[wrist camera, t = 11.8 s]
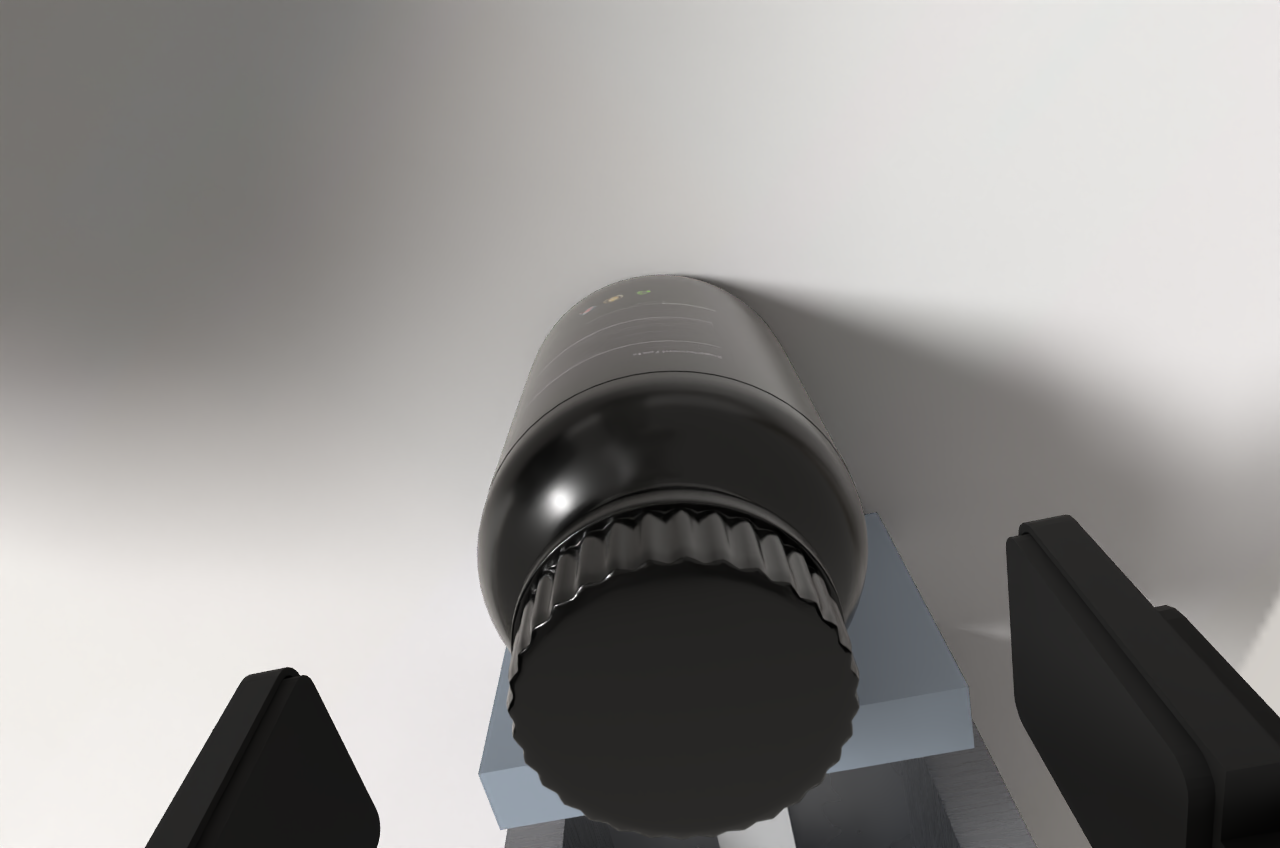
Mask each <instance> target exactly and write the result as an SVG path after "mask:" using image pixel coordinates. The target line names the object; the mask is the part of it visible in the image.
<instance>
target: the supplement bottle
mask: <svg viewBox="0 0 1280 848" xmlns="http://www.w3.org/2000/svg"><path fill="white" fill-rule="evenodd" d="M490 486H491V487H490V488H489V489H490V490H489V491H488V492H489V493H488V496H487V499H486V503H485V506H484V509H483V513H482V518H481V523H480V528H479V534H478V546H477V563H478V573H479V580H480V587H481V591H482V594H483V598H484V602H485V605H486V607H487V610H488V613H489V615H490V618H491V620H492V622H493V624H494V626H495V628H496V630H497V632H498V634H499V636H500V638H501V639H502V641H503V642H504V644H505V645H506V647H507V648H508V650H509V651H510V653H511V661H510V666H509V671H508V679H509V690H508V695H507V701H506V705H507V711H508V713H509V715H510V717H511V719H512V720H513V724H512V736H513V738H514V740H515V741H516V742H517V744H518V745H519V746H520V747H521V748H522V749H523V756H524V761H525V763H526V764H527V765H528V766H529V767H530V768H532V769H533V770H534V771H536V772H537V773H538V776H539V779H540V781H541V784H542V785H543V786H544V787H546V788H548V789H549V790H551V791H553V792H555V793H557V794H558V796H559V798H560V800H561V801H562V802H563V804H564V805H566V806H569V807H572V808H574V809H577V810H580V811H581V812H582V813H583V814H584V815H585V816H586V817H587V818H588V819H589V820H592V821H596V822H602V823H607V824H608V825H610V826H611V827H612V828H614V829H616V830H617V831H621V832H636V833H638V834H641V835H643V836H645V837H648V838H656V837H664V836H666V837H671V838H674V839H678V840H684V839H688V838H692V837H695V836H702V837H716V836H718V835H721V834H723V833H725V832H727V831H742V830H746V829H747V828H749V827H750V826H752V825H753V824H755V823H756V822H760V821H765V820H770V819H774V818H775V817H776V816H777V815H778V814H779V813H780V812H781V811H782V810H783V809H784V808H787V807H790V806H793V805H795V804H798V803H800V802H801V800H802V799H803V798H804V796H805V795H806V793H807V791H809V790H811V789H813V788H815V787H817V786H818V785H820V784H822V782H823V780H824V778H825V776H826V773H827V771H828V770H829V769H830V768H831V767H832V766H834V765H835V764H836V763H838V762H839V761H840V758H841V754H842V747H843V745H844V744H845V743H846V742H847V741H848V740H849V739H850V738H851V737H852V735H853V725H852V720H853V718H854V717H855V715H856V714H857V712H858V710H859V708H860V702H859V697H858V694H857V691H856V690H857V688H858V683H859V669H858V666H857V664H856V661H855V658H854V655H853V653H852V645H851V641H850V638H849V635H848V632H847V629H848V628H849V626H850V624H851V622H852V620H853V617H854V615H855V612H856V610H857V607H858V605H859V602H860V598H861V595H862V591H863V588H864V584H865V578H866V572H867V562H868V538H867V528H866V522H865V516H864V512H863V509H862V505H861V502H860V499H859V496H858V493H857V490H856V488H855V485H854V483H853V481H852V478H851V476H850V474H849V471H848V469H847V467H846V465H845V463H844V461H843V459H842V457H841V456H840V454H839V452H838V450H837V448H836V446H835V444H834V442H833V441H832V439H831V437H830V435H829V433H828V431H827V429H826V428H825V426H824V424H823V422H822V420H821V418H820V416H819V414H818V413H817V411H816V409H815V407H814V405H813V403H812V401H811V400H810V398H809V396H808V394H807V392H806V390H805V388H804V386H803V385H802V383H801V381H800V379H799V377H798V375H797V373H796V372H795V370H794V368H793V366H792V364H791V362H790V360H789V359H788V357H787V355H786V353H785V351H784V350H783V348H782V346H781V345H780V343H779V341H778V340H777V338H776V336H775V335H774V334H773V332H772V331H771V329H770V328H769V327H768V325H767V324H766V323H765V322H764V321H763V320H762V319H761V317H760V316H759V315H758V314H757V313H756V312H755V311H753V310H752V309H751V308H750V307H749V306H748V305H747V304H745V303H744V302H743V301H741V300H740V299H739V298H737V297H736V296H734V295H732V294H731V293H729V292H727V291H726V290H723V289H721V288H719V287H717V286H715V285H712V284H709V283H707V282H704V281H701V280H697V279H693V278H689V277H682V276H675V275H649V276H641V277H635V278H630V279H626V280H622V281H619V282H616V283H614V284H611V285H608V286H606V287H604V288H602V289H599V290H597V291H595V292H594V293H592V294H590V295H589V296H587V297H585V298H584V299H582V300H581V301H580V302H578V303H577V304H576V305H574V306H573V307H572V308H571V309H570V310H569V311H568V312H567V313H566V314H564V315H563V317H562V318H561V319H560V320H559V321H558V322H557V323H556V324H555V326H554V327H553V329H552V330H551V331H550V333H549V334H548V335H547V337H546V339H545V340H544V342H543V344H542V346H541V347H540V349H539V351H538V354H537V356H536V358H535V360H534V363H533V365H532V368H531V370H530V373H529V375H528V378H527V381H526V384H525V387H524V390H523V393H522V396H521V398H520V401H519V404H518V407H517V410H516V413H515V416H514V419H513V422H512V424H511V427H510V430H509V433H508V436H507V439H506V442H505V445H504V447H503V450H502V453H501V456H500V459H499V462H498V465H497V468H496V471H495V473H494V476H493V479H492V482H491V485H490Z"/></svg>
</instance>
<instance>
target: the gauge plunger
mask: <svg viewBox="0 0 1280 848" xmlns="http://www.w3.org/2000/svg"><path fill="white" fill-rule="evenodd" d="M864 516H865V522H866V528H867V538H868V562H867V572H866V578H865V584H864V588H863V591H862V595H861V598H860V602H859V605H858V607H857V610H856V612H855V615H854V617H853V620H852V622H851V624H850V626H849V628H848V629H847V632H848V635H849V638H850V641H851V645H852V653H853V655H854V658H855V661H856V664H857V666H858V669H859V683H858V688H857V690H856V691H857V694H858V697H859V702H860V708H859V710H858V712H857V714H856V715H855V717H854V718H853V720H852V725H853V735H852V737H851V738H850V739H849V740H848V741H847V742H846V743H845V744H844V745H843V747H842V754H841V758H840V761H839V762H838V763H836V764H835V765H834V766H832V767H831V768H830V769H829V770H828V771H827V773H833V772H839V771H844V770H850V769H856V768H862V767H868V766H873V765H879V764H885V763H891V762H897V761H902V760H908V759H914V758H920V757H925V756H931V755H937V754H943V753H949V752H954V751H960V750H966V749H972V748H974V737H973V727H972V717H971V707H970V696H969V686H968V685H967V683H966V681H965V679H964V677H963V675H962V673H961V671H960V669H959V667H958V665H957V664H956V662H955V660H954V658H953V656H952V654H951V652H950V650H949V648H948V646H947V645H946V643H945V641H944V639H943V637H942V635H941V633H940V631H939V629H938V627H937V625H936V624H935V622H934V620H933V618H932V616H931V614H930V612H929V610H928V608H927V606H926V604H925V603H924V601H923V599H922V597H921V595H920V593H919V591H918V589H917V587H916V585H915V584H914V582H913V580H912V578H911V576H910V574H909V572H908V570H907V568H906V566H905V564H904V563H903V561H902V559H901V557H900V555H899V553H898V551H897V549H896V547H895V545H894V544H893V542H892V540H891V538H890V536H889V534H888V532H887V530H886V528H885V526H884V524H883V523H882V521H881V519H880V517H879V515H878V513H877V512H876V513H871V514H866V515H864ZM510 661H511V653H510V651H509V650H508V648H507V647H506V650H505V655H504V659H503V664H502V668H501V673H500V677H499V682H498V687H497V691H496V696H495V700H494V705H493V709H492V714H491V719H490V723H489V728H488V732H487V737H486V741H485V746H484V751H483V755H482V760H481V764H480V769H479V773H478V775H479V777H480V780H481V782H482V785H483V787H484V790H485V792H486V795H487V797H488V800H489V802H490V805H491V807H492V810H493V812H494V815H495V817H496V820H497V823H498V825H499V828H500V830H503V829H509V828H514V827H520V826H526V825H532V824H537V823H543V822H549V821H555V820H561V819H566V818H572V817H578V816H584V814H583V813H582V812H581V811H580V810H577V809H574V808H572V807H569V806H566V805H564V804H563V802H562V801H561V800H560V798H559V796H558V794H557V793H555V792H553V791H551V790H549V789H548V788H546V787H544V786H543V785H542V784H541V781H540V779H539V776H538V773H537V772H536V771H534V770H533V769H532V768H530V767H529V766H528V765H527V764H526V763H525V761H524V756H523V749H522V748H521V747H520V746H519V745H518V744H517V742H516V741H515V740H514V738H513V736H512V724H513V720H512V719H511V717H510V715H509V713H508V711H507V705H506V701H507V695H508V690H509V679H508V671H509V666H510ZM827 773H826V774H827ZM717 838H718V842H719V846H720V848H797V847H796V843H795V838H794V833H793V829H792V824H791V819H790V815H789V810H788V807H787V808H784V809H783V810H782V811H781V812H780V813H779V814H778V815H777V816H776V817H775V818H774V819H770V820H765V821H760V822H756V823H755V824H753V825H752V826H750V827H749V828H747V829H746V830H742V831H727V832H725V833H723V834H721V835H718V836H717Z"/></svg>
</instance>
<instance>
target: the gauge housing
mask: <svg viewBox="0 0 1280 848" xmlns="http://www.w3.org/2000/svg"><path fill="white" fill-rule="evenodd" d="M972 727H973V737H974V748H972V749H966V750H960V751H954V752H949V753H943V754H937V755H931V756H925V757H920V758H914V759H908V760H902V761H897V762H891V763H885V764H879V765H873V766H868V767H862V768H856V769H850V770H844V771H839V772H833V773H827V774H826V776H825V778H824V780H823V782H822V784H820V785H818V786H817V787H815V788H813V789H811V790H809V791H807V793H806V795H805V796H804V798H803V799H802V800H801V802H800V803H798V804H795V805H793V806H790V807H788V810H789V815H790V819H791V824H792V829H793V833H794V838H795V843H796V847H797V848H1037V847H1036V845H1035V843H1034V841H1033V839H1032V837H1031V835H1030V833H1029V831H1028V829H1027V827H1026V825H1025V823H1024V821H1023V819H1022V817H1021V815H1020V813H1019V811H1018V809H1017V807H1016V805H1015V803H1014V801H1013V799H1012V797H1011V795H1010V793H1009V791H1008V789H1007V787H1006V785H1005V783H1004V781H1003V779H1002V777H1001V775H1000V773H999V771H998V769H997V767H996V765H995V763H994V761H993V759H992V757H991V755H990V753H989V752H988V750H987V748H986V746H985V744H984V742H983V740H982V738H981V736H980V734H979V732H978V730H977V728H976V726H975V724H974V722H973V720H972ZM505 848H720V846H719V842H718V838H717V836H716V837H702V836H695V837H692V838H688V839H684V840H678V839H674V838H671V837H666V836H664V837H656V838H648V837H645V836H643V835H641V834H638V833H636V832H621V831H617V830H616V829H614V828H612V827H611V826H610V825H608V824H607V823H602V822H596V821H592V820H589V819H588V818H587V817H586V816H585V815H584V816H578V817H572V818H566V819H561V820H555V821H549V822H543V823H537V824H532V825H526V826H520V827H514V828H509V829H508V830H507V836H506V842H505Z"/></svg>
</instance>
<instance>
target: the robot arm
mask: <svg viewBox="0 0 1280 848" xmlns="http://www.w3.org/2000/svg"><path fill="white" fill-rule="evenodd" d="M1006 555H1007V573H1008V591H1009V609H1010V627H1011V645H1012V663H1013V681H1014V696H1015V703H1016V707H1017V710H1018V714H1019V716H1020V719H1021V722H1022V724H1023V726H1024V728H1025V729H1026V731H1027V733H1028V735H1029V737H1030V738H1031V740H1032V742H1033V744H1034V745H1035V747H1036V749H1037V751H1038V752H1039V754H1040V756H1041V758H1042V760H1043V761H1044V763H1045V765H1046V767H1047V768H1048V770H1049V772H1050V774H1051V775H1052V777H1053V779H1054V781H1055V782H1056V784H1057V786H1058V788H1059V790H1060V791H1061V793H1062V795H1063V797H1064V798H1065V800H1066V802H1067V804H1068V805H1069V807H1070V809H1071V811H1072V813H1073V814H1074V816H1075V818H1076V820H1077V821H1078V823H1079V825H1080V827H1081V828H1082V830H1083V832H1084V834H1085V836H1086V837H1087V839H1088V841H1089V843H1090V844H1091V846H1092V848H1280V717H1279V716H1278V715H1277V714H1276V713H1275V712H1274V711H1273V710H1272V709H1271V708H1270V707H1269V706H1268V705H1267V704H1266V703H1265V702H1264V700H1263V699H1262V698H1261V697H1260V696H1259V695H1258V694H1257V693H1256V692H1255V691H1254V690H1253V689H1252V688H1251V687H1250V685H1249V684H1248V683H1247V682H1246V681H1245V680H1244V679H1243V678H1242V677H1241V676H1240V675H1239V674H1238V673H1237V672H1236V671H1235V670H1234V668H1233V667H1232V666H1231V665H1230V664H1229V663H1228V662H1227V661H1226V660H1225V659H1224V658H1223V657H1222V656H1221V655H1220V654H1219V653H1218V651H1217V650H1216V649H1215V648H1214V647H1213V646H1212V645H1211V644H1210V643H1209V642H1208V641H1207V640H1206V639H1205V638H1204V637H1203V635H1202V634H1201V633H1200V632H1199V631H1198V630H1197V629H1196V628H1195V627H1194V626H1193V625H1192V624H1191V623H1190V622H1189V621H1188V620H1187V618H1186V617H1185V616H1183V615H1182V614H1181V613H1180V612H1179V611H1177V610H1176V609H1175V608H1173V607H1170V606H1167V605H1164V606H1159V607H1153V606H1152V604H1151V603H1150V602H1149V601H1148V600H1147V599H1146V598H1145V597H1144V596H1143V594H1142V593H1141V592H1140V591H1139V590H1138V589H1137V588H1136V587H1135V586H1134V585H1133V583H1132V582H1131V581H1130V580H1129V579H1128V578H1127V577H1126V576H1125V575H1124V573H1123V572H1122V571H1121V570H1120V569H1119V568H1118V567H1117V566H1116V565H1115V563H1114V562H1113V561H1112V560H1111V559H1110V558H1109V557H1108V556H1107V555H1106V554H1105V552H1104V551H1103V550H1102V549H1101V548H1100V547H1099V546H1098V545H1097V544H1096V542H1095V541H1094V540H1093V539H1092V538H1091V537H1090V536H1089V535H1088V534H1087V532H1086V531H1085V530H1084V529H1083V528H1082V527H1081V526H1080V525H1079V524H1078V522H1077V521H1076V520H1075V519H1074V518H1072V517H1071V516H1070V515H1061V516H1056V517H1051V518H1046V519H1041V520H1036V521H1031V522H1026V523H1022V524H1021V525H1020V528H1019V536H1014V537H1009V538H1008V539H1007V542H1006ZM379 837H380V820H379V815H378V812H377V810H376V808H375V806H374V804H373V802H372V800H371V798H370V796H369V794H368V792H367V790H366V788H365V786H364V784H363V782H362V780H361V778H360V776H359V774H358V772H357V770H356V768H355V766H354V763H353V761H352V759H351V757H350V755H349V753H348V751H347V749H346V747H345V745H344V743H343V741H342V739H341V737H340V735H339V733H338V731H337V729H336V727H335V725H334V723H333V721H332V719H331V717H330V715H329V713H328V711H327V709H326V707H325V705H324V703H323V701H322V699H321V697H320V695H319V693H318V691H317V689H316V687H315V685H314V683H313V682H312V680H311V679H310V678H309V677H308V676H306V675H302V676H300V675H299V673H298V672H297V671H296V670H295V669H293V668H289V667H286V668H281V669H276V670H271V671H266V672H261V673H256V674H251V675H248V676H246V677H245V678H244V679H243V680H242V682H241V683H240V685H239V686H238V688H237V690H236V692H235V693H234V695H233V697H232V698H231V700H230V702H229V704H228V705H227V707H226V709H225V710H224V712H223V714H222V716H221V717H220V719H219V721H218V723H217V724H216V726H215V728H214V729H213V731H212V733H211V735H210V736H209V738H208V740H207V741H206V743H205V745H204V747H203V748H202V750H201V752H200V754H199V755H198V757H197V759H196V760H195V762H194V764H193V766H192V767H191V769H190V771H189V772H188V774H187V776H186V778H185V779H184V781H183V783H182V785H181V786H180V788H179V790H178V791H177V793H176V795H175V797H174V798H173V800H172V802H171V804H170V805H169V807H168V809H167V810H166V812H165V814H164V816H163V817H162V819H161V821H160V822H159V824H158V826H157V828H156V829H155V831H154V833H153V835H152V836H151V838H150V840H149V841H148V843H147V845H146V847H145V848H377V845H378V842H379Z"/></svg>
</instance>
